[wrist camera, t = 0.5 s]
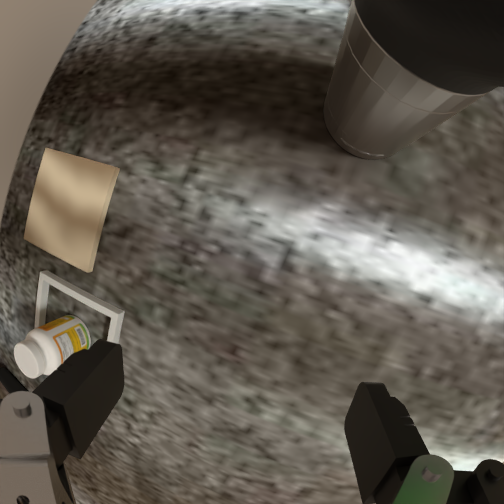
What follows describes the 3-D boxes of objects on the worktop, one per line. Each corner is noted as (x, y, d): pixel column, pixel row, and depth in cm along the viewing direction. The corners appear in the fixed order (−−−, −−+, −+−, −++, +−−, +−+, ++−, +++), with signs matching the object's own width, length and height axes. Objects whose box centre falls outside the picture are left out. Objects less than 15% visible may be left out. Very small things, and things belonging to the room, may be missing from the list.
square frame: (47, 270, 33) (40, 271, 32) (124, 311, 32) (118, 314, 31) (39, 351, 35) (33, 355, 33) (109, 395, 34) (104, 400, 32)
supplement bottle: (56, 336, 34) (7, 360, 24) (67, 305, 33) (13, 326, 24) (84, 362, 34) (38, 394, 24) (97, 332, 33) (46, 361, 23)
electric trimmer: (7, 359, 37) (-5, 365, 34) (68, 431, 36) (58, 440, 33) (3, 371, 37) (-8, 376, 34) (62, 439, 37) (52, 449, 33)
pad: (50, 149, 32) (45, 147, 31) (120, 168, 31) (115, 167, 30) (28, 238, 33) (23, 238, 32) (92, 271, 32) (87, 272, 31)
